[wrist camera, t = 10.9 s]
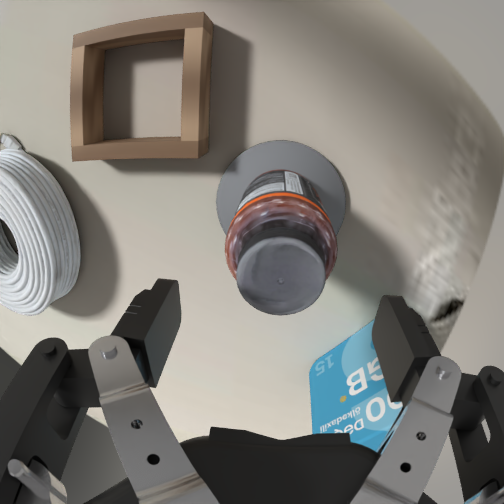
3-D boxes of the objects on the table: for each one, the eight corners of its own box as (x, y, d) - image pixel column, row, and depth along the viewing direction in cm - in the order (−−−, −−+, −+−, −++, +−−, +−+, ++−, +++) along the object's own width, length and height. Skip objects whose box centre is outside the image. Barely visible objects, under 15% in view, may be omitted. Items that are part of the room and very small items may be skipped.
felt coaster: (219, 137, 23) (217, 137, 22) (351, 147, 22) (353, 148, 21) (217, 256, 27) (216, 259, 26) (334, 265, 26) (335, 268, 26)
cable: (-3, 121, 23) (-43, 131, 17) (110, 194, 25) (73, 218, 20) (-21, 244, 30) (-50, 265, 24) (71, 318, 33) (45, 350, 27)
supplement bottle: (325, 233, 25) (353, 323, 14) (252, 247, 26) (234, 342, 15) (311, 159, 22) (339, 204, 12) (233, 176, 23) (195, 233, 13)
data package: (400, 297, 27) (445, 392, 16) (420, 322, 28) (463, 412, 18) (307, 364, 32) (312, 462, 21) (332, 382, 33) (342, 474, 22)
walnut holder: (94, 40, 19) (73, 35, 16) (213, 23, 19) (203, 11, 16) (93, 154, 24) (72, 161, 21) (208, 152, 23) (198, 158, 20)
